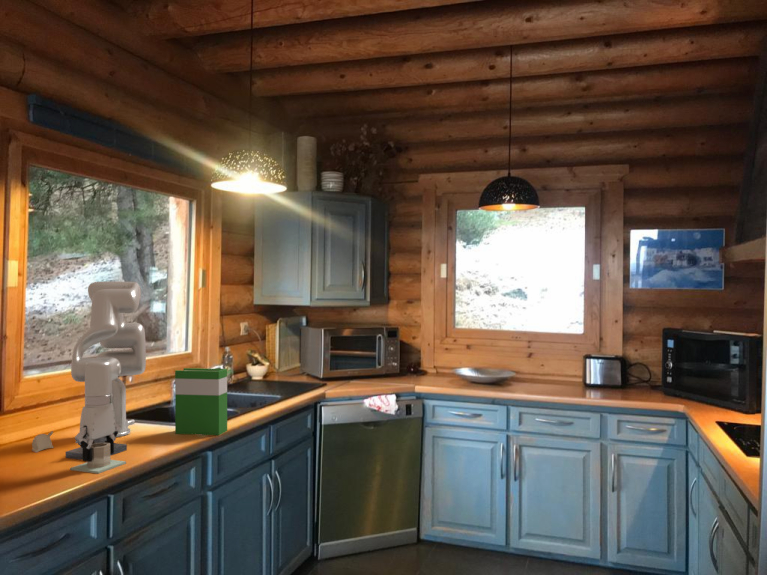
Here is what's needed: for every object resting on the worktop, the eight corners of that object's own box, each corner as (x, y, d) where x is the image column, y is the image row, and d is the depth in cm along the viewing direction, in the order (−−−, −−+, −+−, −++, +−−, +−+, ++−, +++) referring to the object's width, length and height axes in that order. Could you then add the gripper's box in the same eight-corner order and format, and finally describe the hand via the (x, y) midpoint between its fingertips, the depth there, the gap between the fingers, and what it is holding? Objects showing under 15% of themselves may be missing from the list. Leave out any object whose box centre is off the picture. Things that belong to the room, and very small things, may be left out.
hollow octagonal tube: (99, 460, 189) (99, 441, 189) (115, 462, 187) (115, 443, 187) (82, 466, 183) (82, 446, 183) (98, 468, 181) (98, 448, 181)
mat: (98, 460, 192) (98, 458, 192) (125, 463, 188) (125, 461, 188) (70, 469, 181) (70, 467, 181) (98, 473, 177) (98, 471, 177)
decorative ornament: (27, 451, 203) (27, 435, 203) (50, 445, 210) (50, 430, 210) (35, 452, 201) (35, 437, 201) (58, 446, 209) (58, 431, 209)
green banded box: (175, 433, 227) (175, 370, 227) (184, 429, 234) (184, 368, 234) (218, 435, 224) (218, 371, 224) (227, 430, 231) (227, 368, 231)
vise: (98, 447, 208) (98, 412, 208) (126, 450, 203) (126, 414, 204) (64, 457, 195) (64, 420, 195) (93, 461, 190) (93, 423, 190)
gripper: (110, 395, 194) (110, 449, 194) (65, 405, 178) (65, 463, 178) (128, 396, 191) (129, 451, 191) (84, 406, 175) (85, 466, 175)
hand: (98, 457), depth 185 cm, fingers open, 8 cm apart
